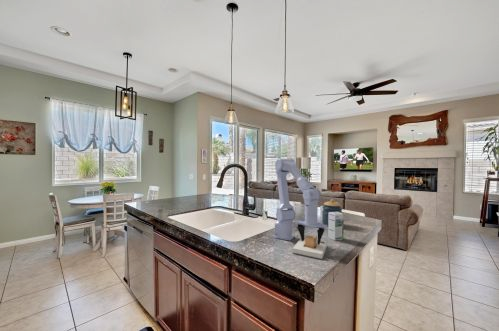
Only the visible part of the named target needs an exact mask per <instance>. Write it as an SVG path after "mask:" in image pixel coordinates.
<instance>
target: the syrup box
mask: <svg viewBox="0 0 499 331" xmlns="http://www.w3.org/2000/svg"><path fill="white" fill-rule="evenodd" d="M344 219H345V217H344V213H343V212H342V213H340V212H329V213H328V226H327V231H328V234H327V235H328V238H329V239H331V240H332V241H344V232H345V230H344V229H345V228H344V225H345V224H344V221H345V220H344Z"/></svg>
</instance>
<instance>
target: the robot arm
mask: <svg viewBox="0 0 499 331" xmlns="http://www.w3.org/2000/svg"><path fill="white" fill-rule="evenodd" d="M274 166H275V173H276V179H277V182H276V183H277V189H278V198H279V205H278V206H277V207H276V213H275V217H276V219H277V220H276V221H275V222H274V231H273V232H274V236H273V238H274V239H279V240H280V239H281V240H287V241H292V240H293V238H294V237H295V235H294V234H293V222H294V220H295V219H296V216H297V215H296V211H295V209H294V207H295V206H293V205H292V204H291V203H290V197H289V189H288V188H289V187H288V179H287V176H288V175H289V174H291V176H293V178H294V179H295V180H296V185H297V187H298V188H299V190H300V191H301V192H302V198H303V202H304V206H305V207H304V220H297V219H296V221H295V226H296V227H297V228H296V229H297V231H298V233H299V235H300V239H301V240H302V241H304V238H305V231H306V230H305V229H306V227H307V228H314V229H317V232H316V233H317V241H318V245H319V244H320V241H322V237H323V234H324V233H325V231H328V226H327V225H324V224H322V223H320V222H318V213H319V212H318V211H319V209H318V208H319V207H318V206H319V203H318V202H319V200H320V199H321V192H320V190H319V188H316V187H314V185H312V184H311V182H310V181H309V179H308V177H305V176H303V175H302V173H301V172H300V171H299V169H298V167H297V162H296V160H295V159H294V158H277V159H276V161H275V162H274Z"/></svg>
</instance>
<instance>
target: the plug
mask: <svg viewBox="0 0 499 331" xmlns="http://www.w3.org/2000/svg"><path fill="white" fill-rule="evenodd" d="M304 238H305V247H308V248H314V249H315V248H316V246H317V241H318V235H313V234H307V235H306V237H305V236H304Z"/></svg>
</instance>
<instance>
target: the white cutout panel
mask: <svg viewBox="0 0 499 331" xmlns="http://www.w3.org/2000/svg"><path fill="white" fill-rule="evenodd" d="M327 249H328V242H327V241H323V240H321V241H320V244H319V245H318V240H317V246H316V248H315V249H314V248H308V247H305V237H304V241H302V240H301V238H300V239H299V240H298V241H297V242H296V243H295V245H294V246H293V247H292V254H294V255H298V256H303V257H307V258H308V257H309V258H313V259H317V260H323V258H324V256H325V254H326V251H327Z"/></svg>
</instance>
